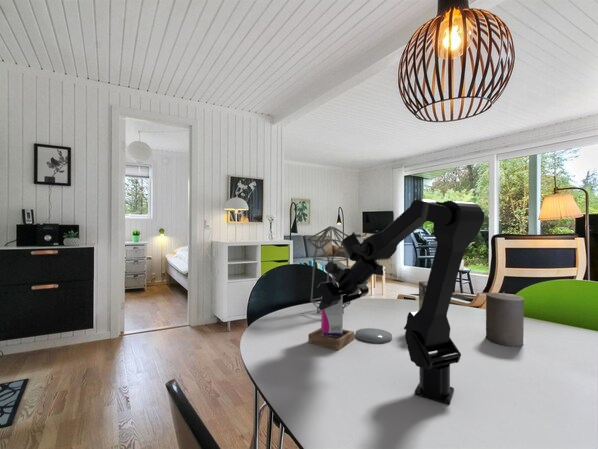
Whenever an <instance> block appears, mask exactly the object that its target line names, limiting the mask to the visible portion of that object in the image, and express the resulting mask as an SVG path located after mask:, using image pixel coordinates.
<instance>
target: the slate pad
mask: <svg viewBox="0 0 598 449" xmlns="http://www.w3.org/2000/svg"><path fill="white" fill-rule="evenodd" d="M355 337H356V338H357V339H358V340H359V341H362V342H365V343H370V344H386V343H387V344H388V343H389V342H391V341H392V340H393V334H392V333H391V332H390V331H387V330H385V329H380V328H373V327H371V328H369V327H368V328H359V329H357V330H356V331H355Z"/></svg>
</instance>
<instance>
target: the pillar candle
mask: <svg viewBox="0 0 598 449" xmlns="http://www.w3.org/2000/svg"><path fill="white" fill-rule="evenodd" d="M485 295H486V297H485V339H486V340H487V341H489V342H491V343H493V344H496V345H500V346H505V347H514V348H515V347H522V346H523V345H524V330H525V329H524V328H525V326H524V323H525V322H524V318H525V317H524V312H525V311H524V308H525V304H524V303H525V302H524V300H525V298H524V297H522V296H519V295H518V294H517V295H516V294H515V295H514V294H510V293H505V291H503V292H502V293H501V292H487V293H486V294H485Z"/></svg>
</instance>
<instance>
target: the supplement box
mask: <svg viewBox="0 0 598 449" xmlns="http://www.w3.org/2000/svg"><path fill="white" fill-rule="evenodd" d="M320 296H321V295H320ZM320 298H321V299H322V296H321V297H320ZM321 299H320V300H321ZM337 303H338V304H336V305H333V306H331V307H328V308H326V309H323V310H320V311H321V312H320V313H321V314H320V315H321V316H320V317H321V320H320V321H321V324H320V326H321V327H320V328H321V329H322V332H323V335H325V336H329V335H343V325H344V324H343V321H344V320H343V319H344V318H343V314H344V313H343V306H344V305H343V296H341V300H340V301H339V302H337Z"/></svg>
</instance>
